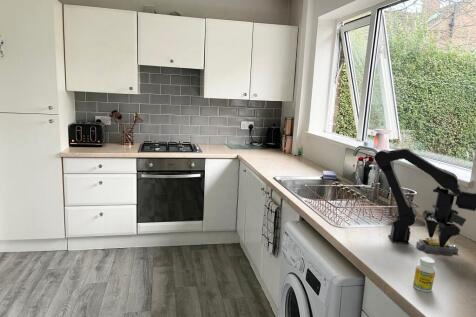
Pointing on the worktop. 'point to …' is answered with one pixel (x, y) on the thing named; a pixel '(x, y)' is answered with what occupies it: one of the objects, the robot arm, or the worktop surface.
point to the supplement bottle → (424, 274)
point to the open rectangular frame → (437, 248)
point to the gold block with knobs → (433, 242)
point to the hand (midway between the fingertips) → (436, 242)
